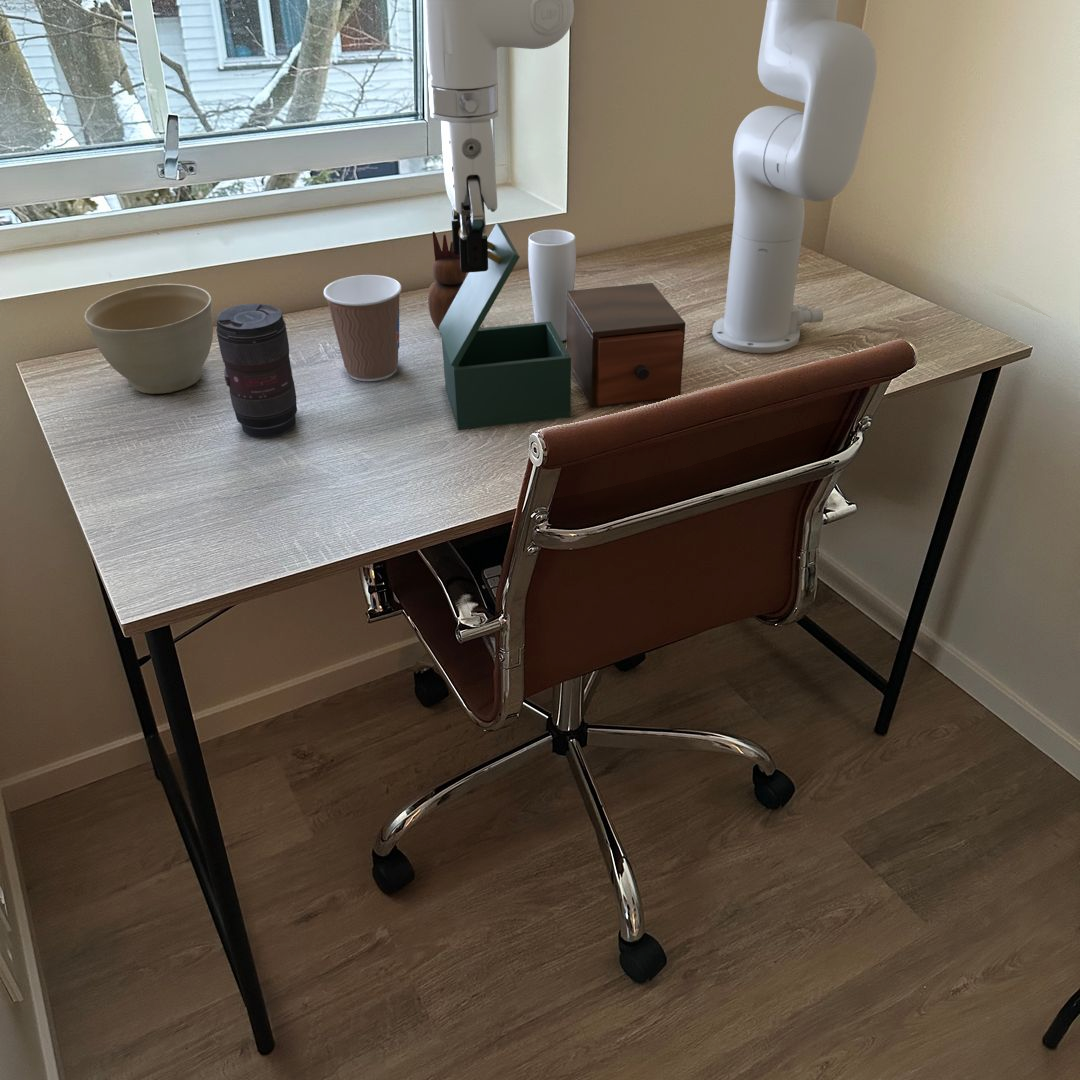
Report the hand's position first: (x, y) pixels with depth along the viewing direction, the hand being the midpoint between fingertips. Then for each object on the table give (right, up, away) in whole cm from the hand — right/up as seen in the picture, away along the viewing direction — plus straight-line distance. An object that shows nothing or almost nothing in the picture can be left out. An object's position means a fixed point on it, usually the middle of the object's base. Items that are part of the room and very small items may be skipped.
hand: (470, 260), depth 122 cm
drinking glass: (+10, -4, +29) cm, 31 cm away
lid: (+1, -4, +3) cm, 5 cm away
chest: (+4, -16, +12) cm, 20 cm away
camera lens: (-26, -19, +8) cm, 33 cm away
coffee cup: (-15, -10, +20) cm, 27 cm away
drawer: (+20, -12, +15) cm, 28 cm away
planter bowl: (-43, -11, +19) cm, 49 cm away
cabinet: (+19, -12, +17) cm, 28 cm away
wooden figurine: (-5, -2, +31) cm, 32 cm away
